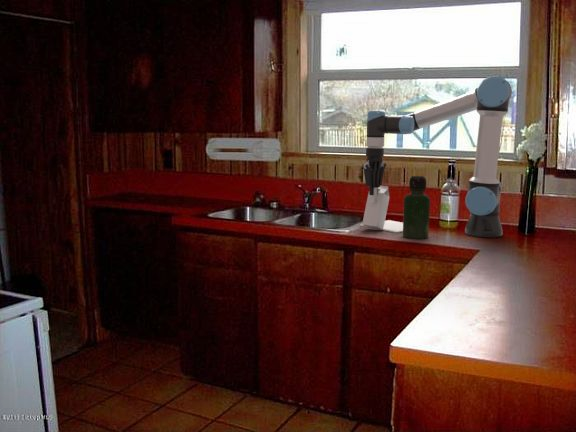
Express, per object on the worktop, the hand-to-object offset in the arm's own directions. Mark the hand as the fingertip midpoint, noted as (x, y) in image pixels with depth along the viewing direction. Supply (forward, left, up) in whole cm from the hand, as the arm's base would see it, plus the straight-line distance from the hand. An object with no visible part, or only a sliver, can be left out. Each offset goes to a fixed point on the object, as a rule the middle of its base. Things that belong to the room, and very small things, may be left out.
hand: (373, 202), depth 269 cm
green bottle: (-20, -5, -13) cm, 24 cm away
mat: (+1, -15, -12) cm, 19 cm away
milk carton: (0, 0, -11) cm, 11 cm away
